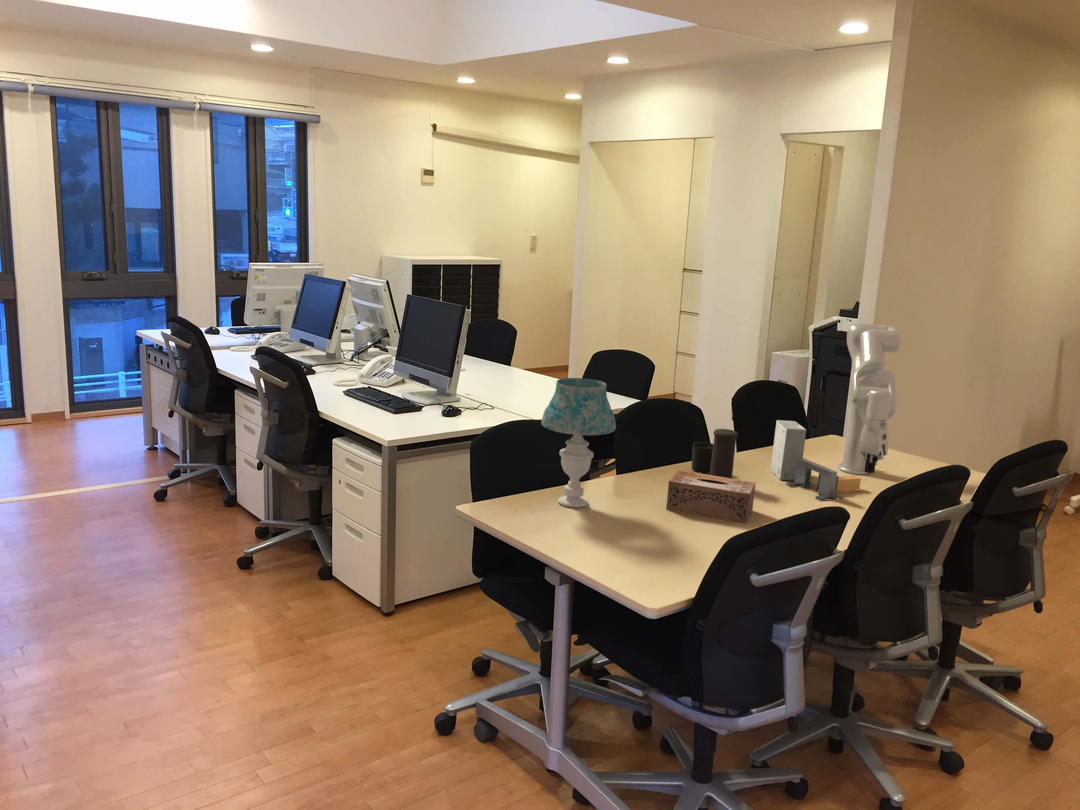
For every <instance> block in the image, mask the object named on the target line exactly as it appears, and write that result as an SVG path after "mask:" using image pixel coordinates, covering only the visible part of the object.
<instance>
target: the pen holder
mask: <svg viewBox="0 0 1080 810" xmlns="http://www.w3.org/2000/svg"><path fill="white" fill-rule="evenodd" d="M713 444H714V443H711V442H706V441H697V442H693V444H692V452H691V453H692V455H691V470H692V471H693V470H694V471H693V472H695V471H697V472H696V473H698V472H701V473H700V474H710V468H711V460H712V452H713Z"/></svg>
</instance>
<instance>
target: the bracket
mask: <svg viewBox="0 0 1080 810" xmlns="http://www.w3.org/2000/svg"><path fill="white" fill-rule="evenodd" d="M812 471H813V472H816V473H817V474H819V473H820V474H821V475H820V482H819V490H817V495H816V496H815V498H814V499H815V500H817V501H819V500H820V501H828V500H827V499H832V500H841V499H843V495H841V494H839V493H837V494H835V493H836V492H835V484H836V477H837V476H838V471H836V470H834V469H831V468H829V467H826V466H823V465H821V464H819V463H816V462H814V461H811V460H809V459H806V458H804V457H803V458H798V460H797V468H796V476H795V481H791V482H790V481H789V482H785V484H786V486H787V487H792V486H793V487H799V488H801V489H803V488H807V489H810V486H812V481H811V477H812ZM818 495H819V496H818ZM837 498H839V499H837Z"/></svg>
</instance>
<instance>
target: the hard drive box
mask: <svg viewBox="0 0 1080 810" xmlns="http://www.w3.org/2000/svg"><path fill="white" fill-rule="evenodd" d="M806 435H807V429H806V428H805V427H803V426H802V425H801V424H799V423H798V422H797V421H795V420H781V419H777V420H776V423H775V430H774V437H773V439H774V440H773V446H772V448H773V449H772V455H771V456H772V457H771V463H770V470H771V471H772V472H773V473H774V475H775V474H776V475H775V476H776V477H777V478H778V479H779V480H781V481H791V482H795V476H796V468H797V460H798V458H804V451H805V444H806Z"/></svg>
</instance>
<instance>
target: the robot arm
mask: <svg viewBox="0 0 1080 810" xmlns="http://www.w3.org/2000/svg"><path fill="white" fill-rule="evenodd" d="M847 329H848V330H847V331H846V345H847V348H848V352H849V355H850V358H851V376H850V378H849V379H850V380H849V398H848V402H847V403H848V419H847V427H846V428H847V429H846V435H845V443H844V444H845V445H844V450H843V457H842V458H843V459H842V462H841V463H839V464H837V469H839V470H840V471H842V472H846V473H848V474H854V475H869V474H872V473H873V474H874V473H875V468H876V466H877V465H878V461H879V460H884V457H885V456H887V455H888V450H889V429H888V426H889V423H888V420H889V419H891V418H893V417H894V416H895V415H896V412H897V386H896V385H897V384H896V383H897V382H896V375H895V373H894V372H893V371H891V370H889V369H884V368H885V366H886V356H885V353H896V352H898V351H899V349H900V347H901V336H900V333H899V331H898V330H897V329H896V328H895V327H893V326H892V325H884V324H871V323H855V324H851V325H850V326H849V328H847Z"/></svg>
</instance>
